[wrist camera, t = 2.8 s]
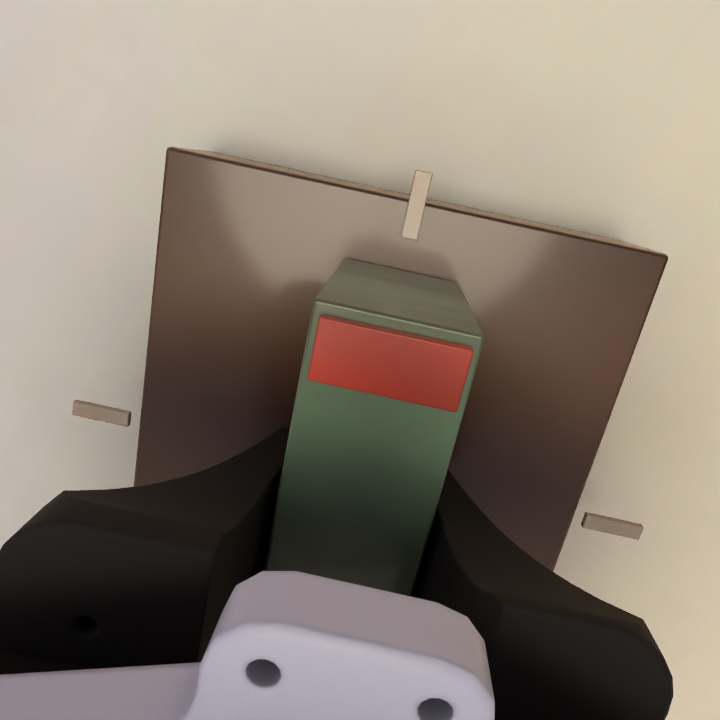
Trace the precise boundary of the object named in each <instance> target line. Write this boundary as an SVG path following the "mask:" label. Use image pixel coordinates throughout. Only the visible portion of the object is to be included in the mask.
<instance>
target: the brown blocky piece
mask: <svg viewBox="0 0 720 720" xmlns="http://www.w3.org/2000/svg"><path fill="white" fill-rule="evenodd" d="M431 179H432V173H429V172H424V171H419V170H416V171H415V175H414V179H413V184H412V188H411V193H410V195H409V194H404V193H400V192H395V191H390V190H386V189H381V188H376V187H372V186H367V185H363V184H358V183H353V182H349V181H344V180H340V179H335V178H330V177H326V176H321V175H317V174H312V173H307V172H303V171H298V170H294V169H289V168H284V167H280V166H275V165H271V164H266V163H261V162H257V161H252V160H247V159H243V158H238V157H234V156H229V155H224V154H220V153H215V152H209V151H201V150H193V149H184V148H176V147H169V148H168V149H167V152H166V162H165V172H164V183H163V193H162V203H161V213H160V224H159V234H158V244H157V254H156V265H155V275H154V285H153V296H152V306H151V316H150V326H149V337H148V347H147V357H146V367H145V378H144V388H143V398H142V409H141V419H140V429H139V439H138V450H137V460H136V470H135V480H134V487H137V486H143V485H150V484H155V483H159V482H163V481H167V480H172V479H176V478H180V477H184V476H187V475H191V474H193V473H196V472H199V471H202V470H205V469H208V468H210V467H213V466H215V465H217V464H220V463H222V462H224V461H226V460H228V459H230V458H232V457H234V456H236V455H238V454H240V453H242V452H243V451H245V450H247V449H249V448H250V447H252V446H254V445H255V444H257V443H258V442H260V441H262V440H263V439H265V438H266V437H268V436H269V435H271V434H272V433H274V432H276V431H277V430H279V429H281V428H282V427H285V428H289V429H290V425H291V420H292V414H293V409H294V404H295V398H296V393H297V387H298V382H299V377H300V371H301V366H302V360H303V355H304V350H305V344H306V339H307V333H308V328H309V323H310V317H311V312H312V306H313V301H314V300H315V298H316V297H317V295H318V294H319V293H320V291H321V290H322V288H323V287H324V286H325V284H326V283H327V282H328V280H329V279H330V278H331V276H332V275H333V273H334V272H335V271H336V269H337V268H338V267H339V265H340V264H341V262H342V261H343V260H344V259H345V258H348V259H352V260H357V261H361V262H366V263H370V264H375V265H380V266H384V267H389V268H393V269H398V270H403V271H407V272H412V273H416V274H421V275H425V276H430V277H435V278H439V279H444V280H448V281H453V282H457V283H459V285H460V287H461V289H462V291H463V293H464V295H465V297H466V299H467V301H468V303H469V306H470V308H471V310H472V312H473V314H474V316H475V318H476V320H477V322H478V324H479V326H480V328H481V330H482V332H483V334H484V338H485V339H484V342H483V346H482V349H481V353H480V357H479V360H478V364H477V367H476V371H475V374H474V378H473V381H472V385H471V388H470V392H469V395H468V399H467V402H466V406H465V409H464V413H463V417H462V420H461V424H460V427H459V431H458V434H457V438H456V441H455V445H454V448H453V452H452V455H451V459H450V462H449V466H448V470H449V471H450V472H451V474H452V475H453V476H454V478H455V479H456V480H457V482H458V483H459V484H460V486H461V487H462V488H463V489H464V491H465V492H466V493H467V494H468V496H469V497H470V498H471V499H472V500H473V502H474V503H475V504H476V505H477V506H478V507H479V509H480V510H481V511H482V512H483V513H484V514H485V515H486V516H487V517H488V518H489V519H490V520H491V521H492V522H493V523H494V525H495V526H496V527H497V528H498V529H499V530H500V531H502V532H503V533H504V534H505V535H506V536H507V537H508V538H509V539H510V540H512V541H513V542H514V543H515V544H516V545H517V546H519V547H520V548H521V549H522V550H523V551H525V552H526V553H527V554H528V555H530V556H531V557H532V558H534V559H535V560H536V561H538V562H539V563H541V564H542V565H544V566H545V567H546V568H548V569H549V570H551V571H552V572H553V570H554V567H555V565H556V562H557V559H558V556H559V554H560V551H561V548H562V546H563V543H564V540H565V537H566V535H567V532H568V529H569V527H570V524H571V521H572V518H573V516H574V513H575V510H576V508H577V505H578V502H579V499H580V497H581V494H582V491H583V489H584V486H585V483H586V480H587V478H588V475H589V472H590V470H591V467H592V464H593V461H594V459H595V456H596V453H597V451H598V448H599V445H600V442H601V440H602V437H603V434H604V431H605V429H606V426H607V423H608V421H609V418H610V415H611V412H612V410H613V407H614V404H615V402H616V399H617V396H618V393H619V391H620V388H621V385H622V383H623V380H624V377H625V374H626V372H627V369H628V366H629V364H630V361H631V358H632V355H633V353H634V350H635V347H636V345H637V342H638V339H639V336H640V334H641V331H642V328H643V326H644V323H645V320H646V317H647V315H648V312H649V309H650V306H651V304H652V301H653V298H654V296H655V293H656V290H657V287H658V285H659V282H660V279H661V277H662V274H663V271H664V268H665V266H666V263H667V260H668V256H667V255H665V254H663V253H660V252H656V251H653V250H650V249H647V248H643V247H640V246H637V245H633V244H630V243H627V242H624V241H620V240H616V239H611V238H607V237H602V236H598V235H593V234H588V233H584V232H579V231H575V230H570V229H565V228H561V227H556V226H552V225H547V224H542V223H538V222H533V221H529V220H524V219H519V218H515V217H510V216H506V215H501V214H496V213H492V212H487V211H482V210H478V209H473V208H469V207H464V206H459V205H455V204H450V203H446V202H441V201H436V200H432V199H427V196H428V191H429V187H430V183H431ZM73 415H76V416H81V417H85V418H90V419H94V420H99V421H103V422H108V423H112V424H117V425H121V426H126V427H128V426H129V425H130V421H131V412H130V411H126V410H121V409H117V408H112V407H108V406H103V405H99V404H94V403H90V402H85V401H81V400H75V401H74V402H73ZM581 525H582V527H583V528H587V529H592V530H596V531H601V532H605V533H610V534H614V535H619V536H624V537H628V538H633V539H637V540H639V538H640V535H641V533H642V530H643V526H642V525H641V524H637V523H633V522H628V521H624V520H619V519H615V518H610V517H606V516H601V515H597V514H592V513H588V512H585V515H584V518H583V520H582V523H581Z"/></svg>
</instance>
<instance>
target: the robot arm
mask: <svg viewBox="0 0 720 720" xmlns="http://www.w3.org/2000/svg"><path fill="white" fill-rule="evenodd" d="M289 431H290V429H289V428H285V427H282V428H281V429H279V430H277V431H276V432H274V433H272V434H271V435H269V436H268V437H266V438H265V439H263V440H262V441H260V442H258V443H257V444H255V445H254V446H252V447H250V448H249V449H247V450H245V451H243V452H242V453H240V454H238V455H236V456H234V457H232V458H230V459H228V460H226V461H224V462H222V463H220V464H217V465H215V466H213V467H210V468H208V469H205V470H202V471H199V472H196V473H193V474H191V475H187V476H184V477H180V478H176V479H172V480H167V481H163V482H159V483H155V484H150V485H143V486H137V487H129V488H120V489H109V490H80V491H63V492H62V493H60V494H59V495H58V496H57V497H55V498H54V499H53V500H52V501H50V502H49V503H48V504H47V505H45V506H44V507H43V508H42V509H41V510H40V511H39V512H38V513H37V514H36V515H35V516H33V517H32V518H31V519H30V520H29V521H28V522H27V523H26V524H25V525H24V526H23V527H22V528H21V529H20V530H18V531H17V532H16V533H15V534H14V535H13V536H12V537H11V538H10V539H9V540H8V541H7V542H6V543H5V544H4V545H3V546H2V548H1V550H0V720H665V718H666V716H667V714H668V711H669V708H670V705H671V701H672V698H673V681H672V675H671V673H670V671H669V668H668V666H667V663H666V661H665V659H664V657H663V655H662V653H661V651H660V649H659V648H658V646H657V644H656V642H655V640H654V638H653V636H652V635H651V633H650V631H649V629H648V627H647V626H646V624H645V622H644V621H643V619H641V618H639V617H637V616H635V615H632V614H630V613H628V612H626V611H624V610H622V609H619V608H617V607H615V606H613V605H611V604H609V603H606V602H604V601H602V600H600V599H598V598H596V597H594V596H592V595H591V594H589V593H587V592H585V591H584V590H582V589H580V588H578V587H576V586H575V585H573V584H571V583H569V582H568V581H566V580H565V579H563V578H561V577H560V576H558V575H557V574H555V573H554V572H552V571H551V570H549V569H548V568H546V567H545V566H544V565H542V564H541V563H539V562H538V561H536V560H535V559H534V558H532V557H531V556H530V555H528V554H527V553H526V552H525V551H523V550H522V549H521V548H520V547H519V546H517V545H516V544H515V543H514V542H513V541H512V540H510V539H509V538H508V537H507V536H506V535H505V534H504V533H503V532H502V531H500V530H499V529H498V528H497V527H496V526H495V525H494V523H493V522H492V521H491V520H490V519H489V518H488V517H487V516H486V515H485V514H484V513H483V512H482V511H481V510H480V509H479V507H478V506H477V505H476V504H475V503H474V502H473V500H472V499H471V498H470V497H469V496H468V494H467V493H466V492H465V491H464V489H463V488H462V487H461V486H460V484H459V483H458V482H457V480H456V479H455V478H454V476H453V475H452V474H451V472H450V471H449V470H448V469H447V473H446V477H445V480H444V484H443V487H442V491H441V494H440V498H439V501H438V505H437V508H436V512H435V515H434V519H433V522H432V526H431V529H430V533H429V537H428V540H427V544H426V547H425V551H424V554H423V558H422V561H421V565H420V568H419V572H418V575H417V579H416V582H415V586H414V589H413V593H412V597H411V596H406V595H402V594H397V593H393V592H388V591H384V590H379V589H375V588H370V587H366V586H361V585H357V584H352V583H348V582H343V581H339V580H334V579H330V578H325V577H321V576H316V575H312V574H307V573H303V572H298V571H264V566H265V560H266V555H267V550H268V544H269V539H270V533H271V528H272V523H273V517H274V512H275V506H276V501H277V495H278V490H279V485H280V479H281V474H282V468H283V463H284V458H285V452H286V447H287V441H288V436H289Z"/></svg>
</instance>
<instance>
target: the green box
mask: <svg viewBox="0 0 720 720" xmlns="http://www.w3.org/2000/svg"><path fill="white" fill-rule="evenodd" d="M484 339H485V338H484V334H483V332H482V330H481V328H480V326H479V324H478V322H477V320H476V318H475V316H474V314H473V312H472V310H471V308H470V306H469V303H468V301H467V299H466V297H465V295H464V293H463V291H462V289H461V287H460V285H459V283H457V282H453V281H448V280H444V279H439V278H435V277H430V276H425V275H421V274H416V273H412V272H407V271H403V270H398V269H393V268H389V267H384V266H380V265H375V264H370V263H366V262H361V261H357V260H352V259H348V258H345V259H344V260H343V261H342V262H341V264H340V265H339V267H338V268H337V269H336V271H335V272H334V273H333V275H332V276H331V278H330V279H329V280H328V282H327V283H326V284H325V286H324V287H323V288H322V290H321V291H320V293H319V294H318V295H317V297H316V298H315V300H314V301H313V306H312V312H311V317H310V323H309V328H308V333H307V339H306V344H305V350H304V355H303V360H302V366H301V371H300V377H299V382H298V387H297V393H296V398H295V404H294V409H293V414H292V420H291V425H290V431H289V436H288V441H287V447H286V452H285V458H284V463H283V468H282V474H281V479H280V485H279V490H278V495H277V501H276V506H275V512H274V517H273V523H272V528H271V533H270V539H269V544H268V550H267V555H266V560H265V566H264V571H298V572H303V573H307V574H312V575H316V576H321V577H325V578H330V579H334V580H339V581H343V582H348V583H352V584H357V585H361V586H366V587H370V588H375V589H379V590H384V591H388V592H393V593H397V594H402V595H406V596H411V597H412V593H413V589H414V586H415V582H416V579H417V575H418V572H419V568H420V565H421V561H422V558H423V554H424V551H425V547H426V544H427V540H428V537H429V533H430V529H431V526H432V522H433V519H434V515H435V512H436V508H437V505H438V501H439V498H440V494H441V491H442V487H443V484H444V480H445V477H446V473H447V469H448V466H449V462H450V459H451V455H452V452H453V448H454V445H455V441H456V438H457V434H458V431H459V427H460V424H461V420H462V417H463V413H464V409H465V406H466V402H467V399H468V395H469V392H470V388H471V385H472V381H473V378H474V374H475V371H476V367H477V364H478V360H479V357H480V353H481V349H482V346H483V342H484Z"/></svg>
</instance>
